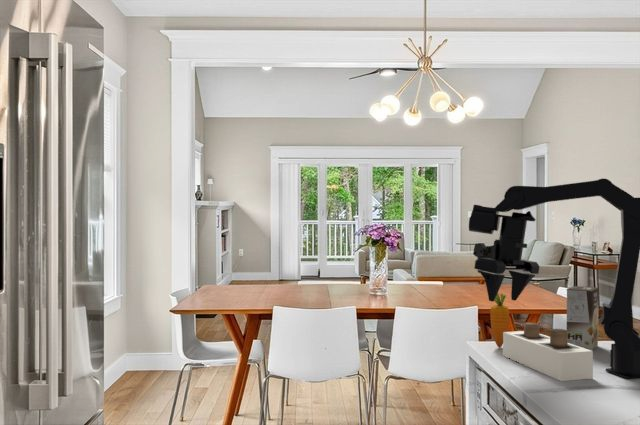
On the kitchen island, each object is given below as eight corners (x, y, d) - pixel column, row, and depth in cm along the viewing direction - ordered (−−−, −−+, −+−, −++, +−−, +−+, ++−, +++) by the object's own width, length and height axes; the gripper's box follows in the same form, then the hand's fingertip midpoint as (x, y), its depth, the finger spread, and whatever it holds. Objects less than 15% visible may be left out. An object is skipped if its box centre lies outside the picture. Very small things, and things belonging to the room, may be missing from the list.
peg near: (571, 357, 124) (571, 331, 124) (557, 358, 123) (557, 332, 123) (560, 353, 128) (560, 328, 128) (546, 354, 127) (546, 329, 127)
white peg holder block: (592, 378, 121) (592, 351, 121) (561, 381, 119) (561, 353, 119) (530, 354, 142) (530, 330, 142) (503, 355, 140) (503, 332, 140)
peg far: (542, 349, 134) (542, 325, 134) (529, 350, 133) (529, 325, 133) (533, 345, 137) (533, 322, 138) (520, 346, 137) (520, 322, 137)
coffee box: (592, 352, 144) (592, 290, 144) (565, 349, 148) (566, 288, 148) (598, 346, 151) (598, 287, 151) (573, 342, 155) (573, 285, 155)
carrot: (511, 349, 146) (511, 293, 146) (492, 349, 146) (493, 293, 146) (505, 345, 151) (506, 290, 151) (487, 345, 151) (487, 290, 151)
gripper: (505, 234, 147) (497, 292, 147) (460, 230, 135) (452, 293, 136) (544, 241, 138) (535, 302, 139) (499, 237, 127) (490, 305, 127)
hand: (502, 300), depth 135 cm, fingers open, 9 cm apart
